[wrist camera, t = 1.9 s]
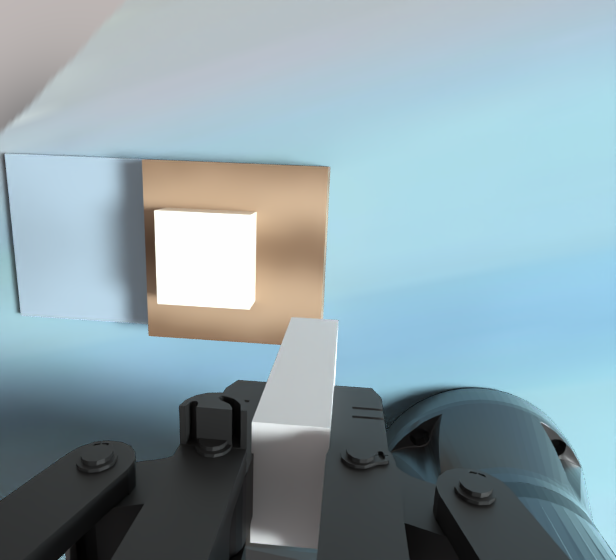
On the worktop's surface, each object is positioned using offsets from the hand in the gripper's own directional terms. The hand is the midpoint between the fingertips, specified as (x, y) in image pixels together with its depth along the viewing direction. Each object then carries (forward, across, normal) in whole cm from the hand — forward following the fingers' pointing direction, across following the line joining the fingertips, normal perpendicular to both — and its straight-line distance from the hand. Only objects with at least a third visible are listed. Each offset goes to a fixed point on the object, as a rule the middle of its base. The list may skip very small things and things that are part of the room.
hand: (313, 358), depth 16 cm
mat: (+20, +18, 0) cm, 27 cm away
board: (+20, +6, 0) cm, 21 cm away
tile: (+17, +8, 0) cm, 19 cm away
